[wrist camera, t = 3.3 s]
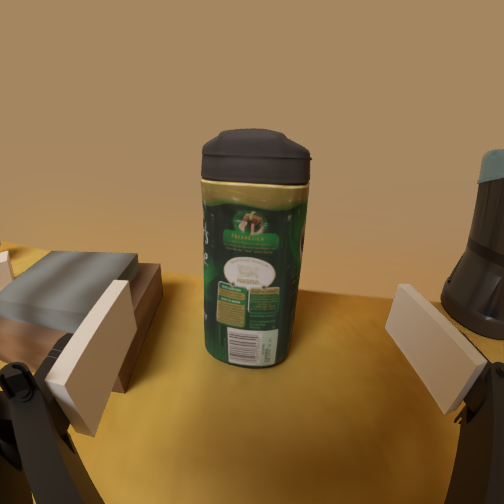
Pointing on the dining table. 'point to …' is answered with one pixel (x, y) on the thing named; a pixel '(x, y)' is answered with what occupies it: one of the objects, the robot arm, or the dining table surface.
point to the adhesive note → (5, 270)
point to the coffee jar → (252, 243)
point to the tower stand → (72, 303)
